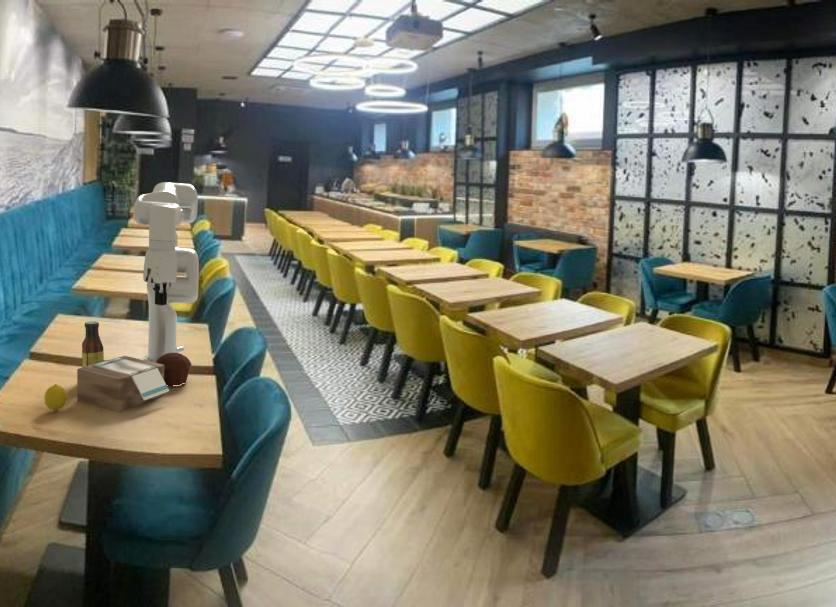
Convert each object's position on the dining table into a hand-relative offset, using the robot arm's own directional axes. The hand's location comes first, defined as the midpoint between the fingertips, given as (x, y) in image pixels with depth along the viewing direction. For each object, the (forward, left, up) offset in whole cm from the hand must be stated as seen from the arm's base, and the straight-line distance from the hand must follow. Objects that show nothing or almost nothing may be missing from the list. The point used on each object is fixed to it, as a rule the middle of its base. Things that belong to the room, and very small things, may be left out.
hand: (160, 304), depth 196 cm
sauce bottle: (+3, -24, -29) cm, 38 cm away
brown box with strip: (+9, -6, -29) cm, 31 cm away
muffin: (-11, -4, -29) cm, 32 cm away
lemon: (+27, -12, -29) cm, 42 cm away
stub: (+9, +5, -22) cm, 25 cm away
